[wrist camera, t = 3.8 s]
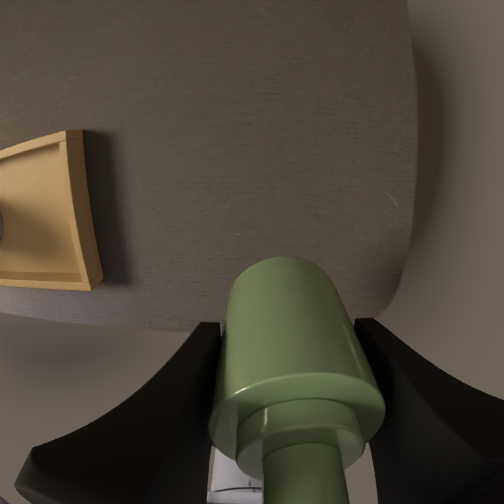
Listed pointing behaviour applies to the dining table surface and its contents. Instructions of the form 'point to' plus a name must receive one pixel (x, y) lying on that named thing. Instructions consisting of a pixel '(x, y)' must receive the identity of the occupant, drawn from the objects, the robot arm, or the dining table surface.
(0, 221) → the blue bottle
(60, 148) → the tray
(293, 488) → the sage bottle
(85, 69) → the dining table surface
